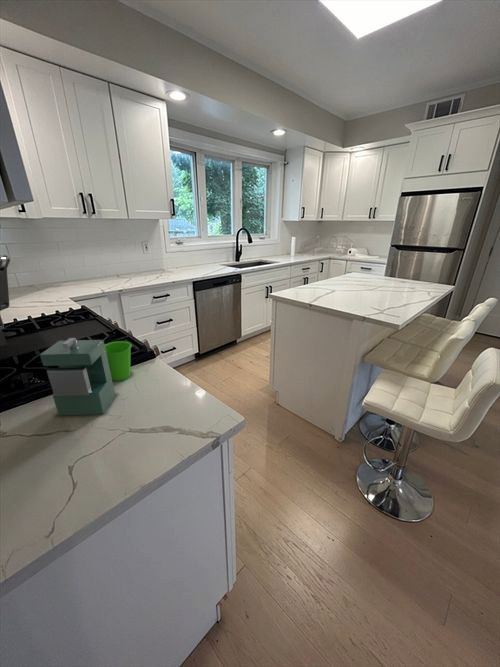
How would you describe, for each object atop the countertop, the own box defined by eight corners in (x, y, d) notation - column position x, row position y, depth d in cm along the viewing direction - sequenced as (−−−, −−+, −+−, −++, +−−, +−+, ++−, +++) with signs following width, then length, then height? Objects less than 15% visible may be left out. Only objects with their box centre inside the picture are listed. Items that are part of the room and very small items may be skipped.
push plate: (54, 396, 66) (46, 371, 64) (58, 392, 68) (50, 367, 65) (89, 395, 67) (82, 370, 64) (92, 391, 68) (86, 367, 66)
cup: (99, 383, 85) (91, 351, 81) (120, 369, 93) (114, 339, 89) (122, 388, 83) (116, 355, 78) (142, 373, 91) (137, 343, 86)
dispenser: (59, 417, 70) (36, 346, 63) (75, 398, 78) (57, 332, 70) (104, 416, 71) (87, 345, 63) (115, 397, 78) (102, 332, 71)
